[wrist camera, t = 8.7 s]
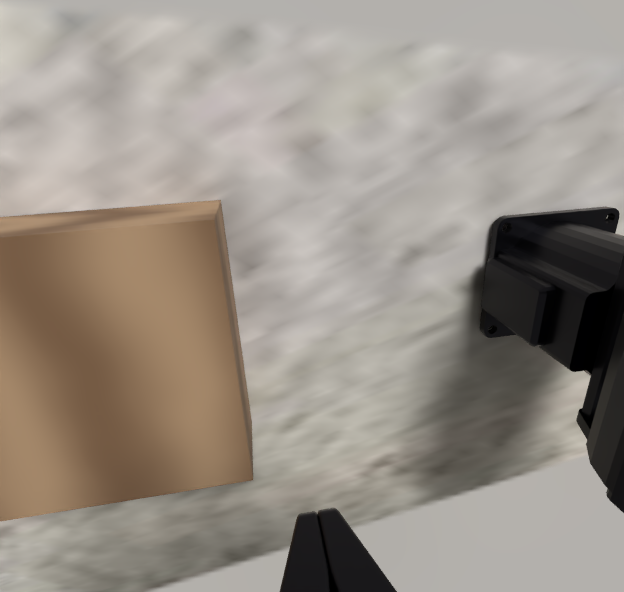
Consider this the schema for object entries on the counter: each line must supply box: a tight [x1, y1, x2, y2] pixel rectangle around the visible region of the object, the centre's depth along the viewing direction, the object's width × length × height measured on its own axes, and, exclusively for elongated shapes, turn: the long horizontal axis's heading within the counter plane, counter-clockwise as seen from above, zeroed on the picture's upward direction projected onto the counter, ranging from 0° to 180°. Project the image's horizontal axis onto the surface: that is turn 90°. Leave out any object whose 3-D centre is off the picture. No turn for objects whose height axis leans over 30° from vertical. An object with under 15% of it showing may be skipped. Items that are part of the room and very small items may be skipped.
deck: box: [0, 200, 253, 521], centre depth 17 cm, size 11×12×4 cm
